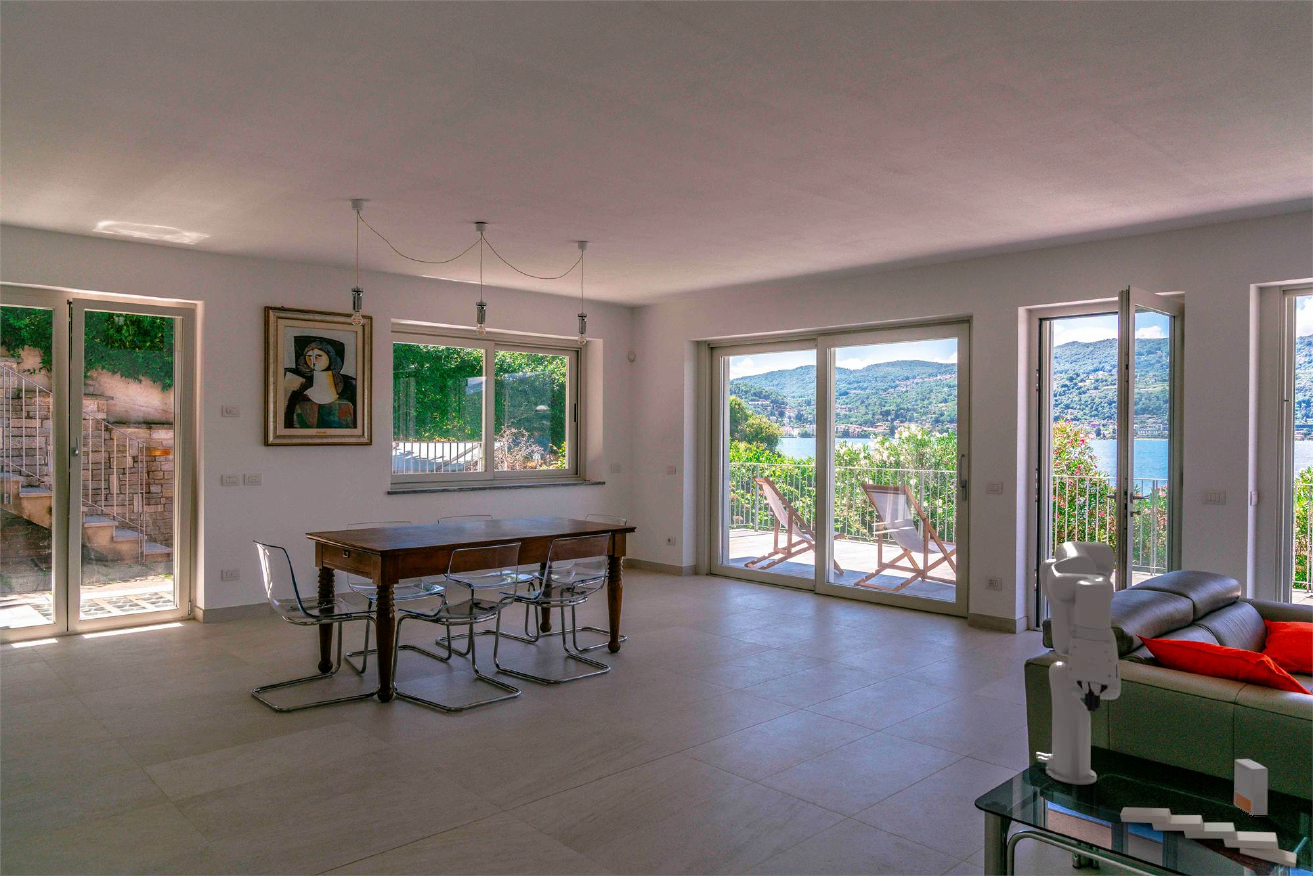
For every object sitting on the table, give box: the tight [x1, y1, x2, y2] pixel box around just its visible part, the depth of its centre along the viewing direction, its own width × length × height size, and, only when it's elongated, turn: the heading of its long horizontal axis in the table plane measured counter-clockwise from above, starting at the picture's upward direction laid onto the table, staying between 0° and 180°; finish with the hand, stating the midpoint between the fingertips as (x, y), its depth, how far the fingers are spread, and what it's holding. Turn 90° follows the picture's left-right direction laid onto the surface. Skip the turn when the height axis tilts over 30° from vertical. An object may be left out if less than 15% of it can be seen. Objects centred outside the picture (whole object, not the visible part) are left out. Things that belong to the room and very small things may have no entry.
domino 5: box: [1239, 847, 1298, 868], centre depth 189 cm, size 2×5×10 cm
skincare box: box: [1233, 758, 1269, 817], centre depth 211 cm, size 6×4×12 cm
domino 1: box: [1119, 806, 1172, 824], centre depth 205 cm, size 2×5×10 cm
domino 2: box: [1151, 814, 1204, 832], centre depth 201 cm, size 2×5×10 cm
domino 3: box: [1183, 822, 1236, 839], centre depth 197 cm, size 2×5×10 cm
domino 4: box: [1223, 830, 1279, 849], centre depth 192 cm, size 2×5×10 cm
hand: (1092, 709), depth 201 cm, fingers closed
